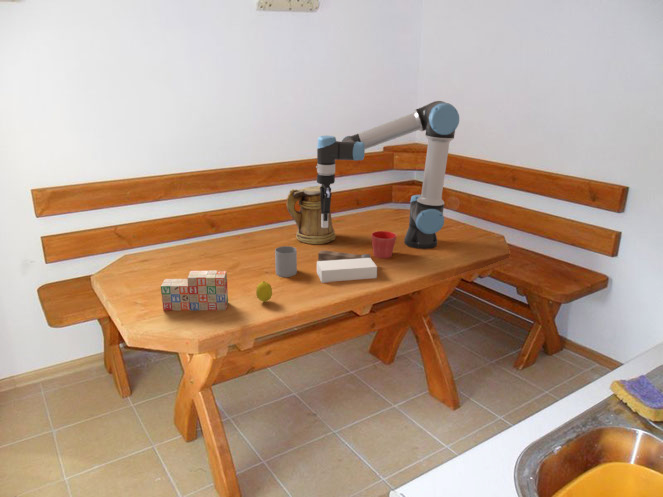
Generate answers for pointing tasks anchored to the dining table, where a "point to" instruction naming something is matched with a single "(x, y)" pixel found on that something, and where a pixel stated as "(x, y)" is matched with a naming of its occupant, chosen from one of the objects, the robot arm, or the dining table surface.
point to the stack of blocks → (196, 291)
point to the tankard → (309, 216)
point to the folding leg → (338, 256)
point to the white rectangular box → (346, 269)
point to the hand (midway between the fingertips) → (324, 227)
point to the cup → (286, 261)
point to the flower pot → (383, 243)
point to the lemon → (264, 291)
